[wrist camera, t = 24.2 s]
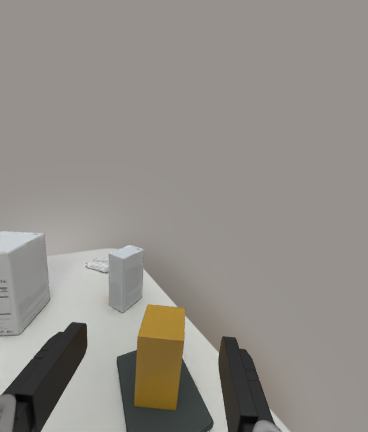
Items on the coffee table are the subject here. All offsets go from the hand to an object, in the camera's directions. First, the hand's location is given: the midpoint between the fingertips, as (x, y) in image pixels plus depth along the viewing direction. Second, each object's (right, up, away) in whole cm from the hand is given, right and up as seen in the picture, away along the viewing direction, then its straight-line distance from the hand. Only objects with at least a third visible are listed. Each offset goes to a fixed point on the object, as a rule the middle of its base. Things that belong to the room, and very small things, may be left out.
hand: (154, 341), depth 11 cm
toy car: (-22, -8, +42) cm, 48 cm away
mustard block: (-2, -15, +13) cm, 20 cm away
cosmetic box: (-11, -12, +30) cm, 34 cm away
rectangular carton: (-30, -11, +23) cm, 40 cm away
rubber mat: (-2, -16, +14) cm, 21 cm away
